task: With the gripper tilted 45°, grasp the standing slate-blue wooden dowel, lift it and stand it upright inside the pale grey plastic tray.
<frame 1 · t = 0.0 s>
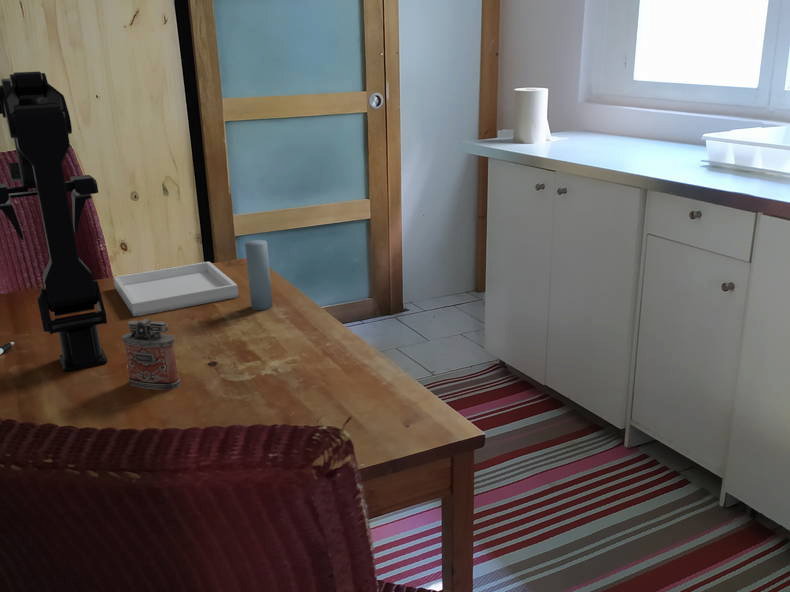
hand: (49, 235, 140), 15 cm above the table, tool pointing down, fingers open, 9 cm apart
dowel: (262, 306, 143), on the table
lighter: (155, 385, 112), on the table
tray: (175, 292, 153), on the table
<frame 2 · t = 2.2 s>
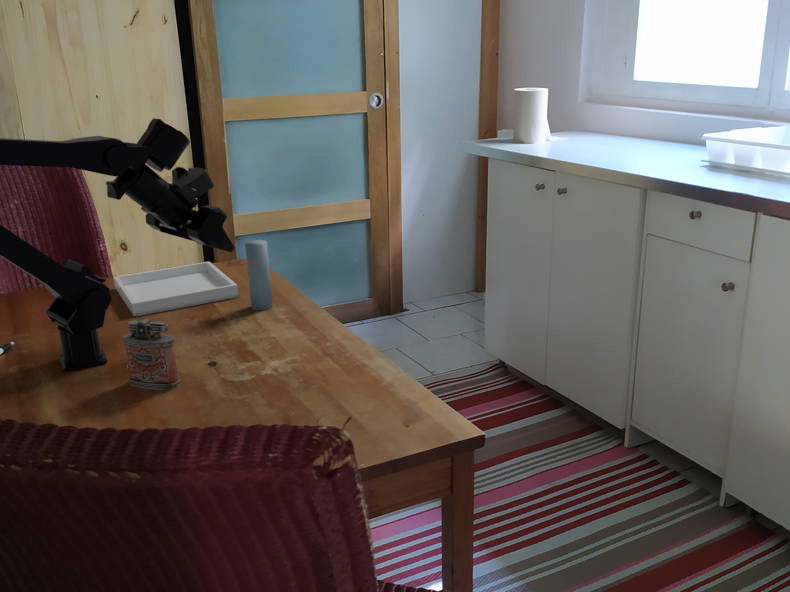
hand: (218, 245, 134), 13 cm above the table, tool tilted 45°, fingers open, 9 cm apart
nothing on the table moved.
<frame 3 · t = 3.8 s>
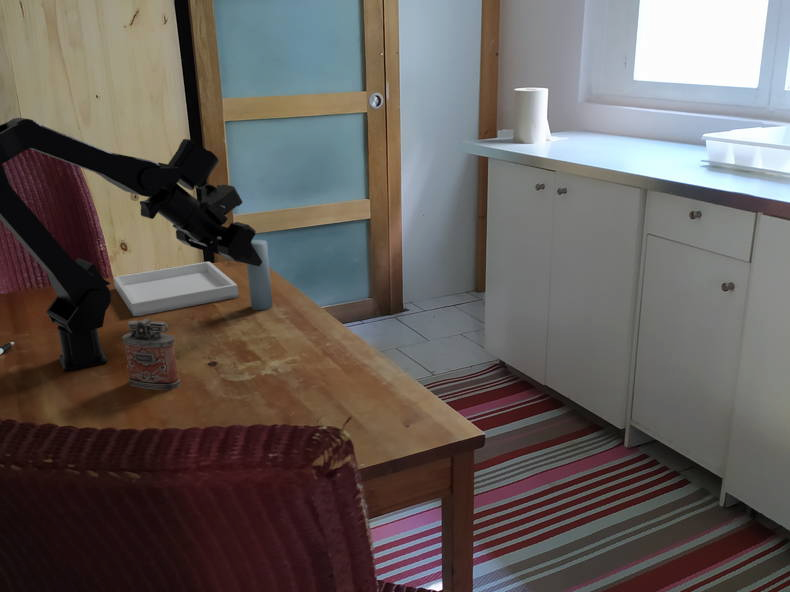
hand: (246, 259, 139), 10 cm above the table, tool tilted 45°, fingers open, 9 cm apart
nothing on the table moved.
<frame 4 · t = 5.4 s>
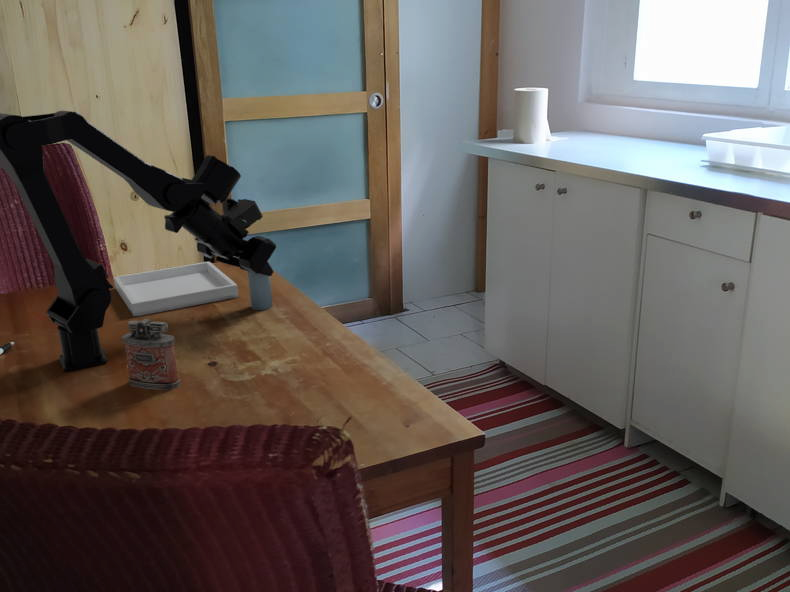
hand: (265, 271, 142), 7 cm above the table, tool tilted 45°, fingers closed on dowel, 4 cm apart
dowel: (262, 306, 143), on the table, touching gripper
everything else where it was.
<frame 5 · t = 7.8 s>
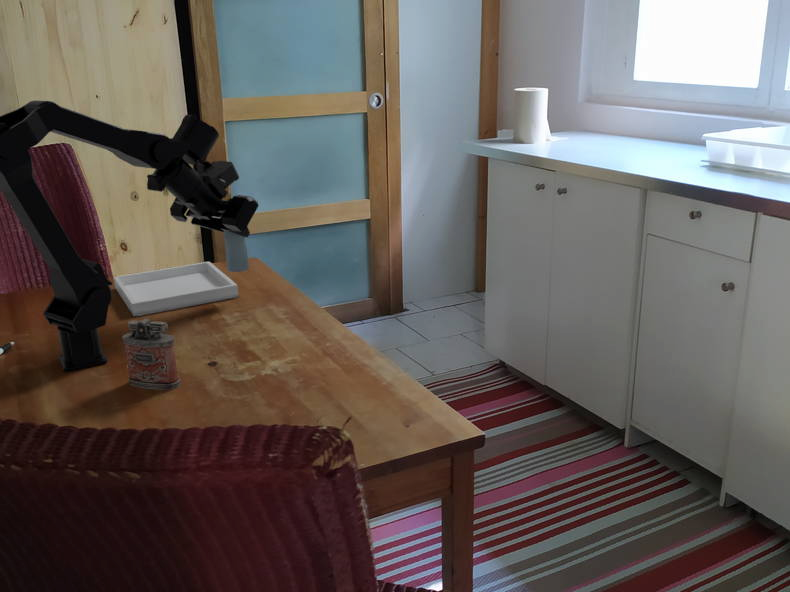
hand: (240, 233, 143), 13 cm above the table, tool tilted 45°, fingers closed on dowel, 4 cm apart
dowel: (238, 268, 145), point 7 cm above the table, touching gripper
everything else where it was.
when the fingers open (9 cm above the table, at t = 10.2 s): dowel drops 1 cm, resting on tray.
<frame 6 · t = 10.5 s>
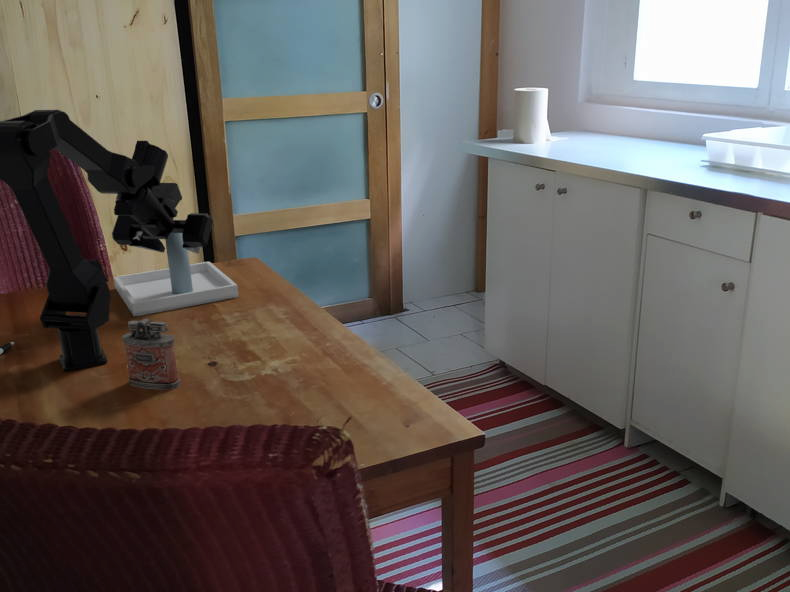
hand: (180, 250, 150), 9 cm above the table, tool tilted 45°, fingers open, 7 cm apart
dowel: (182, 291, 151), point 1 cm above the table, touching tray
everything else where it was.
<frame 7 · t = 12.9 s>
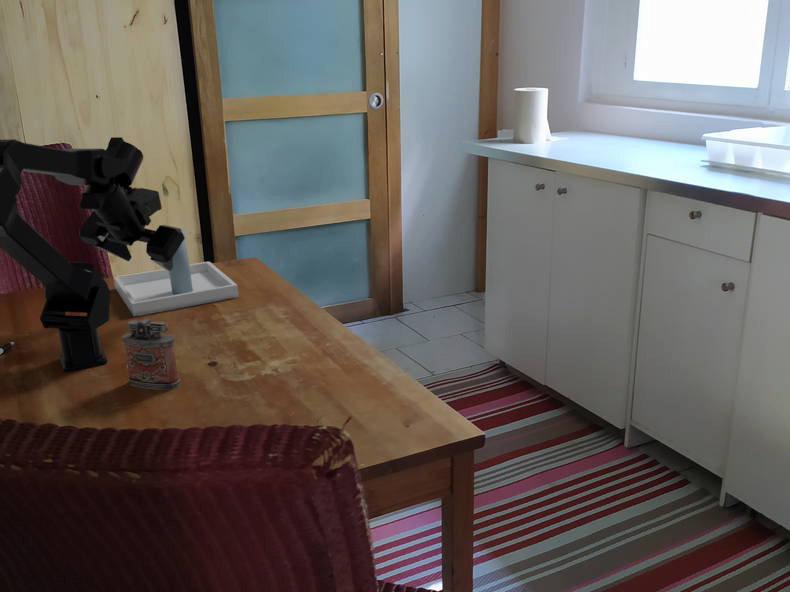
hand: (150, 264, 140), 9 cm above the table, tool tilted 35°, fingers open, 9 cm apart
nothing on the table moved.
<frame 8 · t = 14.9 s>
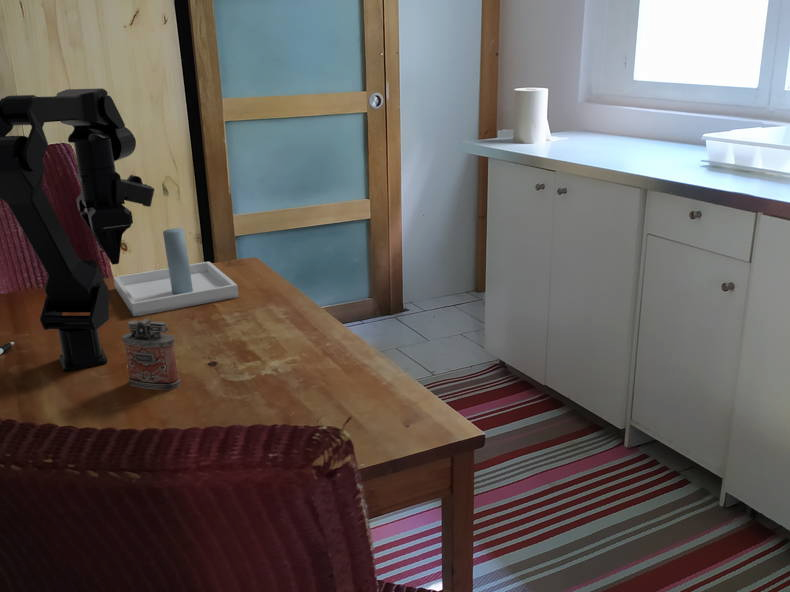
hand: (110, 257, 130), 13 cm above the table, tool pointing down, fingers open, 9 cm apart
nothing on the table moved.
at the end: dowel inside the target area on the tray (2.2 cm from its centre), point 0.6 cm above the tray's base; the gripper is holding nothing; dowel tilted 0° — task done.
